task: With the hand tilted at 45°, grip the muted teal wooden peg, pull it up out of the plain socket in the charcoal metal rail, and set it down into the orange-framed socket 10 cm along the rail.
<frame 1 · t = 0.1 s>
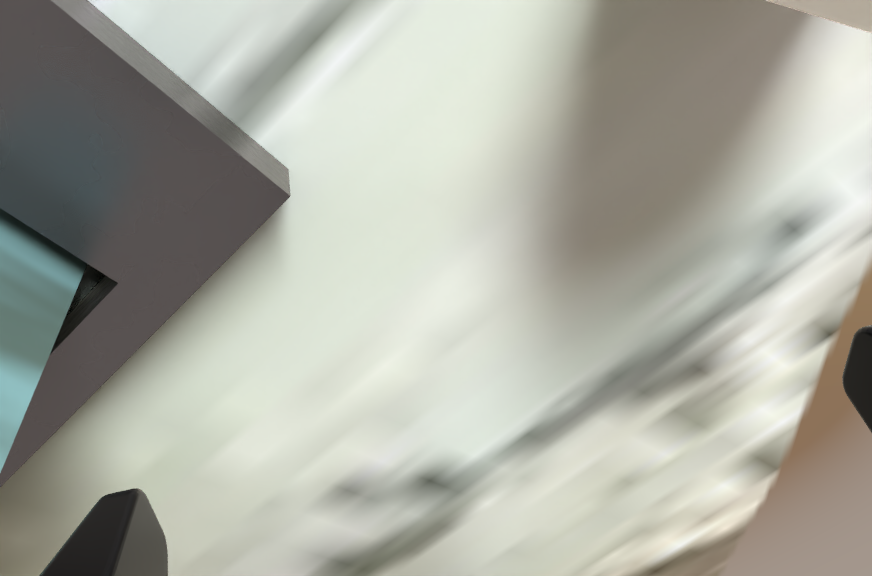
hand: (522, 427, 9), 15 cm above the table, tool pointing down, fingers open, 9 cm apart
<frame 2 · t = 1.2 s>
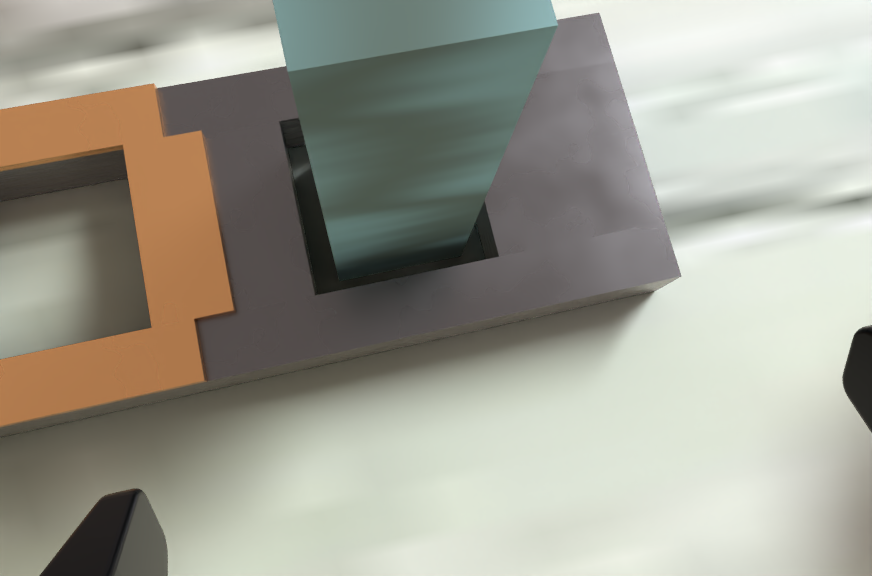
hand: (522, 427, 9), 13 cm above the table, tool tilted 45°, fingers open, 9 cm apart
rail: (233, 240, 23), on the table
peg: (387, 210, 23), resting in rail
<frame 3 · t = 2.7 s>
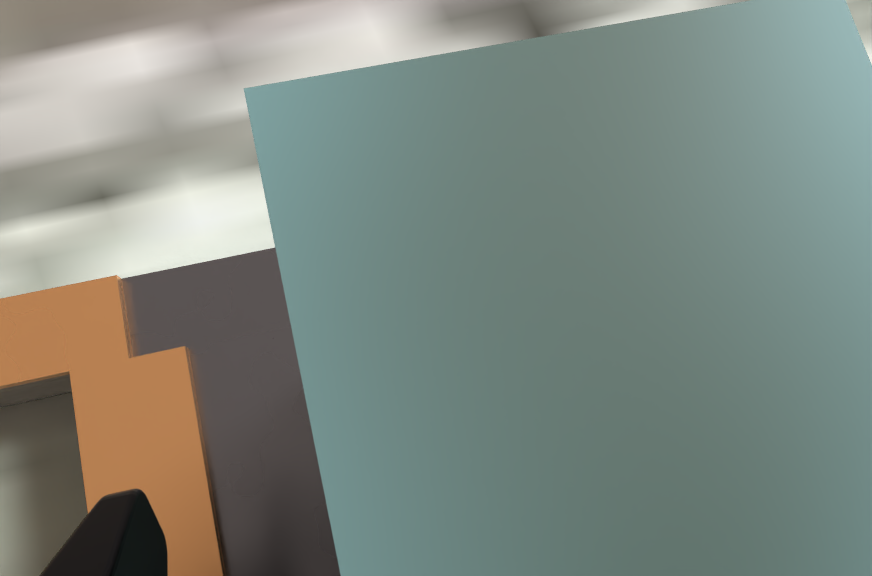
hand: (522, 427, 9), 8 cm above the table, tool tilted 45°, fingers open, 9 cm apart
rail: (231, 479, 16), on the table
peg: (445, 427, 17), resting in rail
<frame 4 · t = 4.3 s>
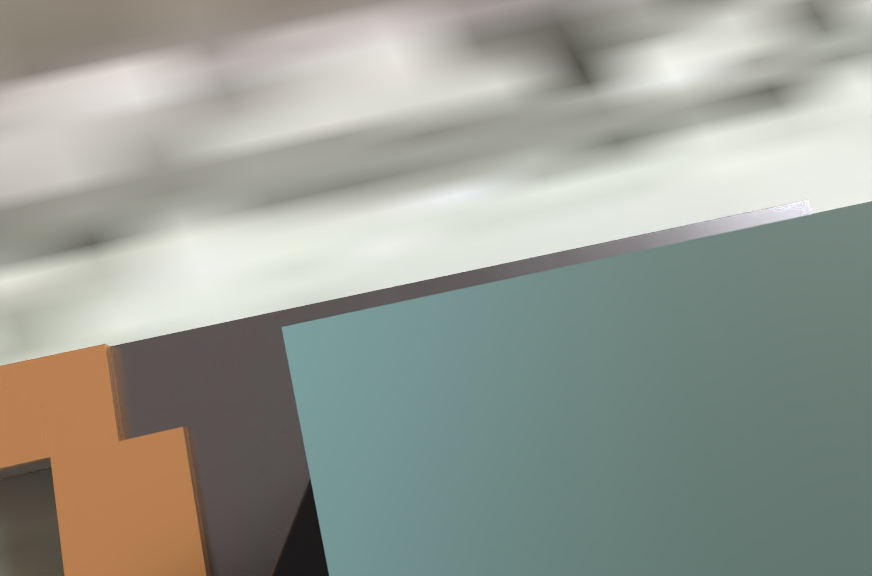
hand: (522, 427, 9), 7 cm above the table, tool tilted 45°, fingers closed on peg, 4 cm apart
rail: (235, 567, 14), on the table
peg: (476, 505, 15), resting in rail, touching gripper
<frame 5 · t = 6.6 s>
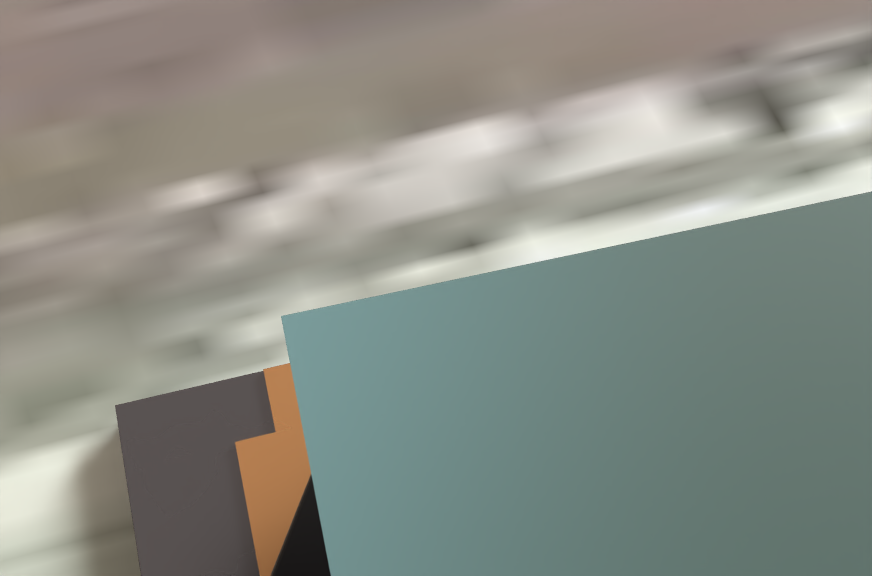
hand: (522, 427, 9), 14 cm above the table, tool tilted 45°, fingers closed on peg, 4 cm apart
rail: (588, 451, 22), on the table
peg: (476, 503, 15), point 7 cm above the table, touching gripper
when the fingers open (7 cm above the table, at t = 8.8 s): peg stays where it is, resting in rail.
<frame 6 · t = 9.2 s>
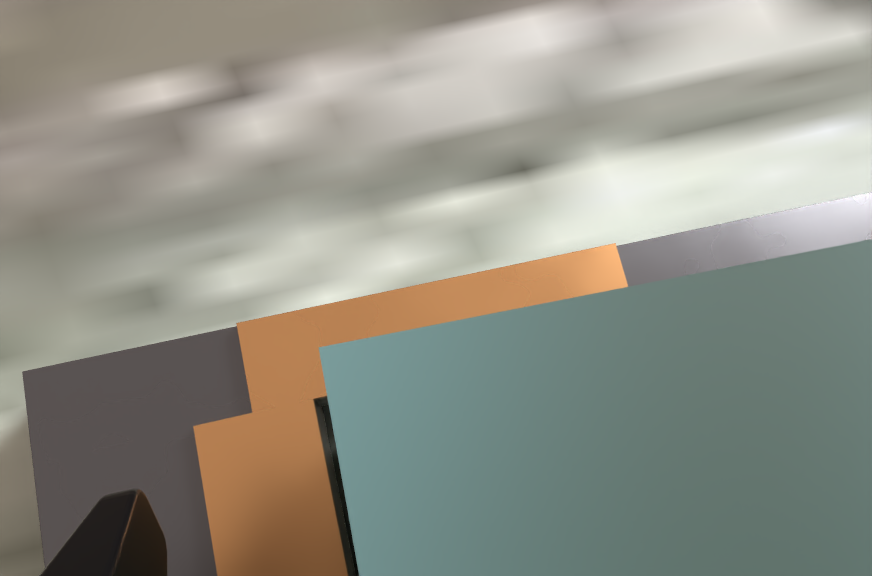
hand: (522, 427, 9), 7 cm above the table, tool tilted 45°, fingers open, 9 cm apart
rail: (683, 448, 16), on the table
peg: (472, 502, 16), resting in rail
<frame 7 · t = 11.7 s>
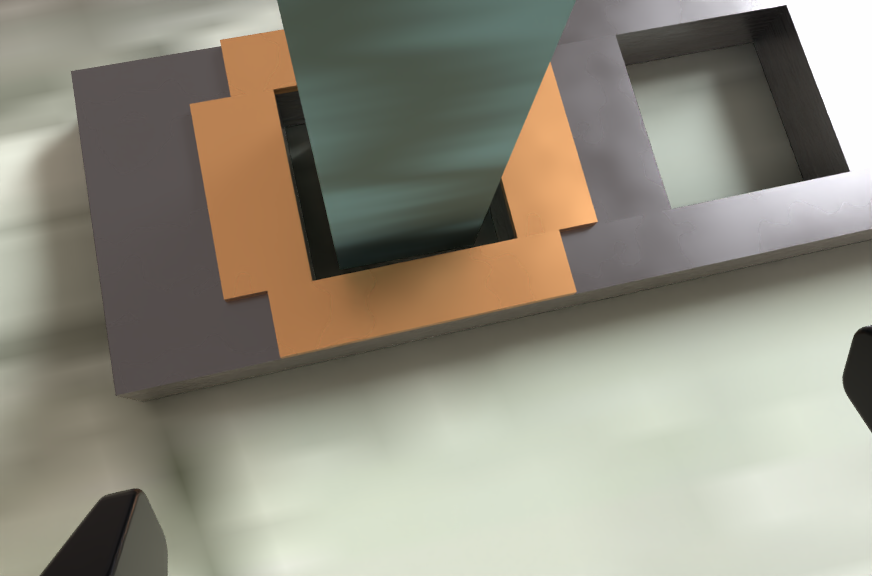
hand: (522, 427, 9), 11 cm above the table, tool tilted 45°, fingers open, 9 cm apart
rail: (551, 162, 22), on the table
peg: (393, 194, 21), resting in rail
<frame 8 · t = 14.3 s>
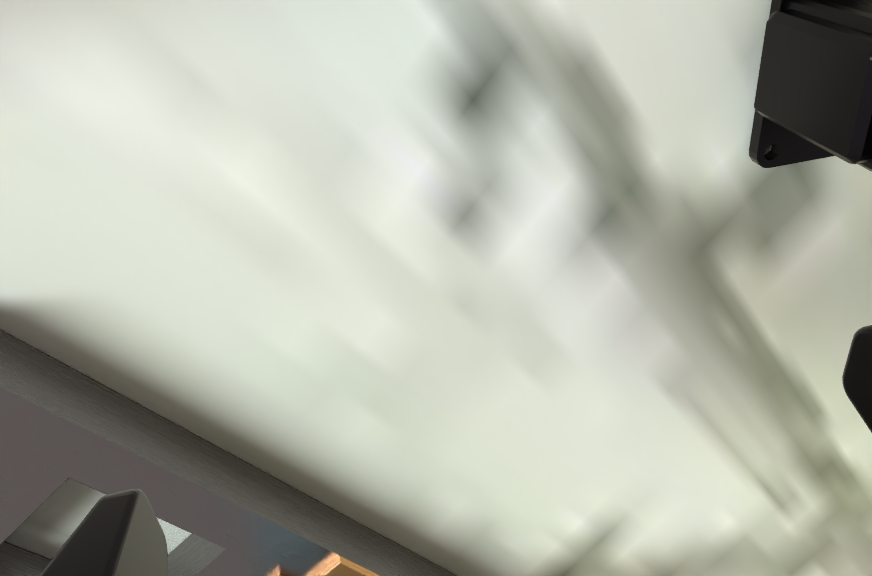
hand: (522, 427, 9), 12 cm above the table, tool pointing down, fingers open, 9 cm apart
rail: (228, 569, 26), on the table
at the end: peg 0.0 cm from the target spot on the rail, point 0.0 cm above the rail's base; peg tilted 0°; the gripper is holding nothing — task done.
